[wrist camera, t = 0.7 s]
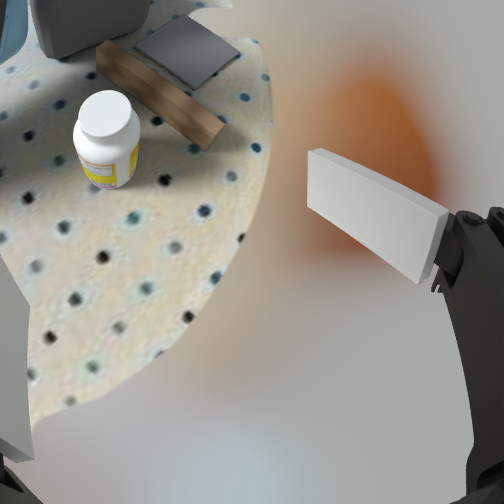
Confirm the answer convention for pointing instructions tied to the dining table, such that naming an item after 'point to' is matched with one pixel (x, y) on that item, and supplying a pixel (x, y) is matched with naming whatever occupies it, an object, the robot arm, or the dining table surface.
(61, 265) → the dining table surface
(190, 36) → the rubber mat
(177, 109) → the walnut rail
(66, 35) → the alarm clock
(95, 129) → the supplement bottle
